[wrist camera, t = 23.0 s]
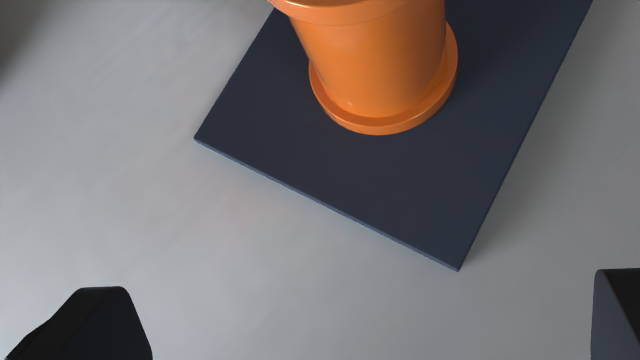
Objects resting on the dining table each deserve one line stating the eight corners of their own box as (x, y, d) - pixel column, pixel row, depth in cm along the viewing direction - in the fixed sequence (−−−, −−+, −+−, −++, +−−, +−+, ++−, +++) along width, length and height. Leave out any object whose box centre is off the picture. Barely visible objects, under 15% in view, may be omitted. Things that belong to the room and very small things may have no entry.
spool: (451, -3, 22) (449, -192, 14) (464, 127, 20) (469, -13, 12) (313, 18, 23) (245, -145, 15) (312, 142, 21) (235, 23, 14)
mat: (593, -2, 21) (596, -10, 20) (458, 272, 19) (458, 270, 18) (331, -74, 25) (329, -82, 24) (197, 142, 23) (192, 138, 22)
